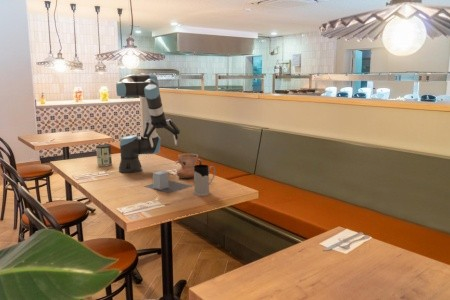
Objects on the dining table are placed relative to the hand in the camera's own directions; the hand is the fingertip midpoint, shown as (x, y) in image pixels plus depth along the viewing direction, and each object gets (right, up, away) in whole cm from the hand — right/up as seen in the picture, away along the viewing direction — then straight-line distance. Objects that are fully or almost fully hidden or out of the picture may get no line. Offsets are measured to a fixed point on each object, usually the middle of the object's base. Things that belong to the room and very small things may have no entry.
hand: (164, 144), depth 215 cm
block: (-1, -24, -2) cm, 25 cm away
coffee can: (-53, -14, +61) cm, 82 cm away
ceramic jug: (+12, -20, +22) cm, 33 cm away
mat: (+2, -24, +1) cm, 24 cm away
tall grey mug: (+24, -26, -9) cm, 37 cm away
